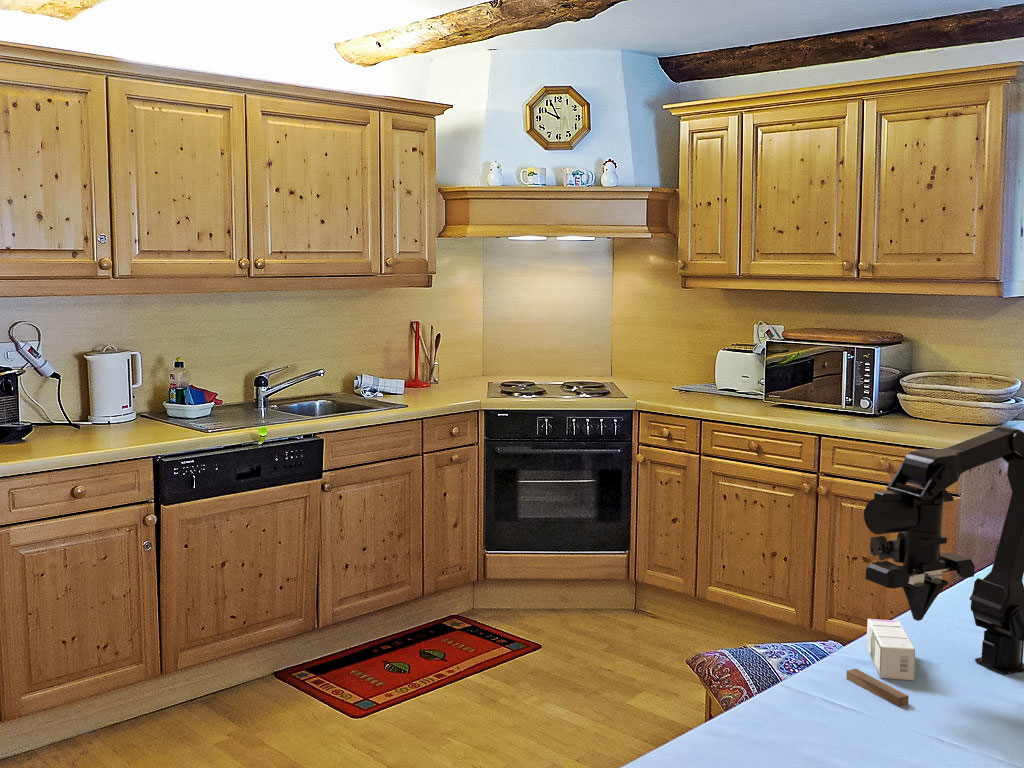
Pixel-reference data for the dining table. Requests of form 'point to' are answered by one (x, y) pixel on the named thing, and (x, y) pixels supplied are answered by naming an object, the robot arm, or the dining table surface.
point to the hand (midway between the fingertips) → (917, 619)
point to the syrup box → (890, 649)
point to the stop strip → (877, 687)
